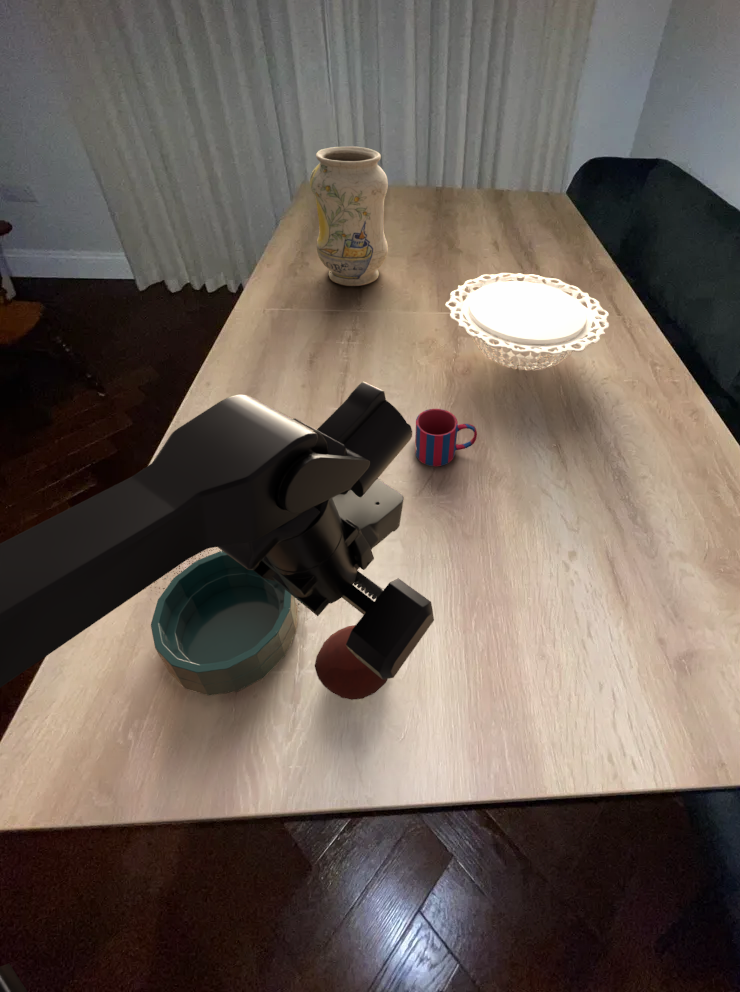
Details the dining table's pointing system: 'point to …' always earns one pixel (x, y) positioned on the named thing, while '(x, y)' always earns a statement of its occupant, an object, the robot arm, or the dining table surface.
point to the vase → (350, 213)
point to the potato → (345, 669)
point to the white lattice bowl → (527, 319)
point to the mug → (439, 437)
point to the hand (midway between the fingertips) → (344, 612)
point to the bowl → (222, 625)
